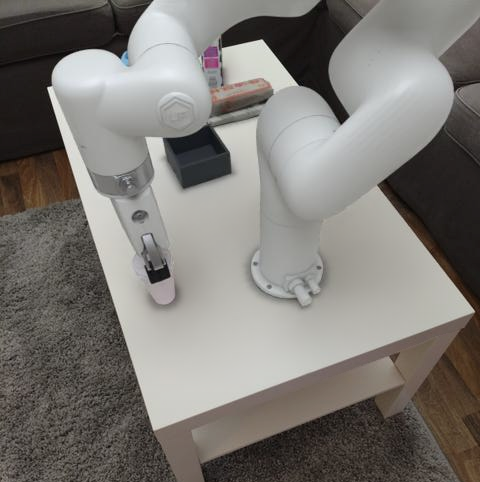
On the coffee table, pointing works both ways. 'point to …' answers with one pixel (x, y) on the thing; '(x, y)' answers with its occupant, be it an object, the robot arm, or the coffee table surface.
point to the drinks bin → (198, 156)
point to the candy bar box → (213, 64)
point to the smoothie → (160, 290)
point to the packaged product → (239, 101)
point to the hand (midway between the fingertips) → (153, 262)
